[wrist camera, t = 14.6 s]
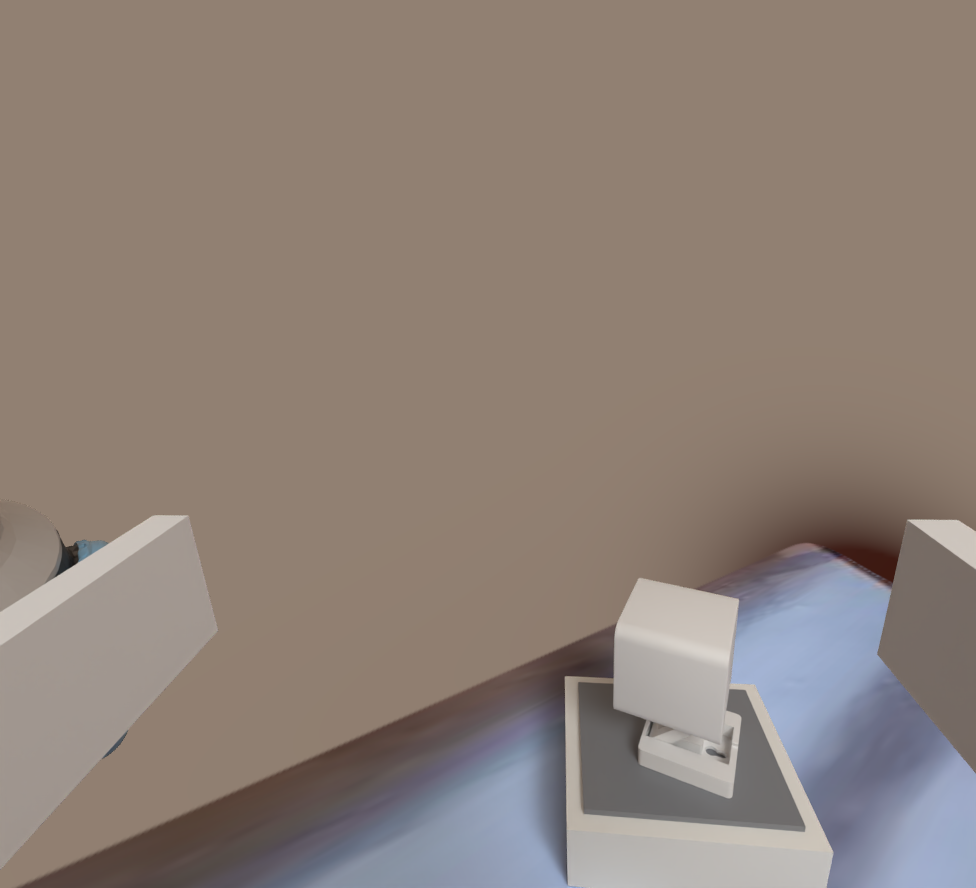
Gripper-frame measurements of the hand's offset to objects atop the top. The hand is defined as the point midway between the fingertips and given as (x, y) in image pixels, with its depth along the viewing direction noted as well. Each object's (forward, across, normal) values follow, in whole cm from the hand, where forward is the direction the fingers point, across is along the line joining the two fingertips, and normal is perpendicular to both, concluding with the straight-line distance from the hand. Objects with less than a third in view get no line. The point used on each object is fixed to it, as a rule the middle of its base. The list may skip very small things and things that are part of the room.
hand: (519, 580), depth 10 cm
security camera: (+19, +8, -25) cm, 32 cm away
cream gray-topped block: (+19, +8, -30) cm, 36 cm away
